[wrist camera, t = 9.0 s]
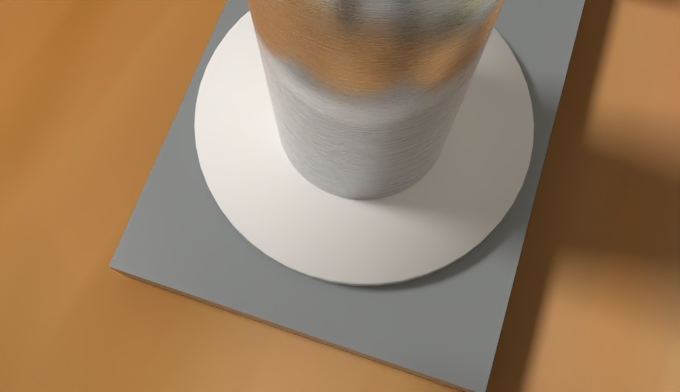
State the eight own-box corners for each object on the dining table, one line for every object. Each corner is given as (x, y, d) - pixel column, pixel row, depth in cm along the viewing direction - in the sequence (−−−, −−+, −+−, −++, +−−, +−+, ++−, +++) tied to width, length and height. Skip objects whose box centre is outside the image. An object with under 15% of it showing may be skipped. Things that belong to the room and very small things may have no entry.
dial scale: (473, 394, 19) (517, 394, 14) (125, 276, 20) (59, 238, 15) (610, -131, 24) (673, -256, 20) (333, -203, 25) (332, -337, 21)
